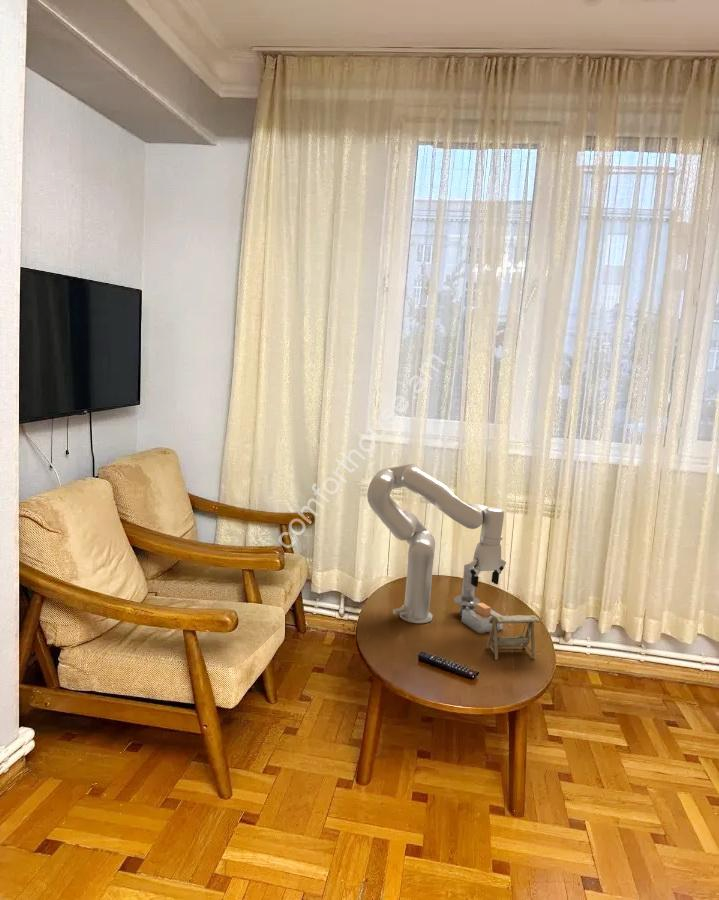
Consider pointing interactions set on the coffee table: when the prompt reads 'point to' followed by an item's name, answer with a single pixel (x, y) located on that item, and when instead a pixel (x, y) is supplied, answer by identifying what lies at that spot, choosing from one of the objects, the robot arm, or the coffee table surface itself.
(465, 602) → the bracket head
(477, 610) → the orange rectangular block
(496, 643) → the swing bench
